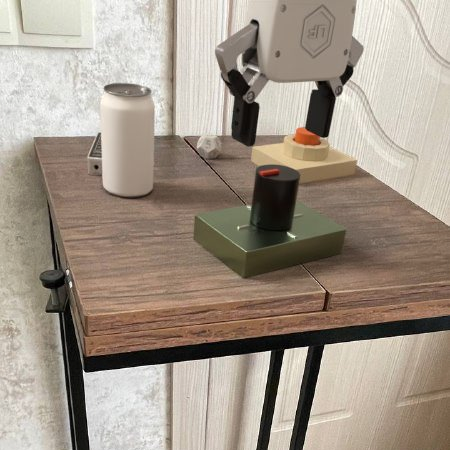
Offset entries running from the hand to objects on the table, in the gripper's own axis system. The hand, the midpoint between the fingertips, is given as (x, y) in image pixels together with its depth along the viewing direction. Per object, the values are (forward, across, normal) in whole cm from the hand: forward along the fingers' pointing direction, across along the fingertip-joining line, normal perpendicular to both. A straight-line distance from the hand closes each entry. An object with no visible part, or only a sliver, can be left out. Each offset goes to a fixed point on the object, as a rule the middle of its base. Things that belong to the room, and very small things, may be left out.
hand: (280, 137), depth 64 cm
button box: (+12, +21, +19) cm, 31 cm away
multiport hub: (+12, -5, +31) cm, 33 cm away
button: (+8, +21, +19) cm, 30 cm away
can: (+12, -7, +21) cm, 25 cm away
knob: (+9, 0, 0) cm, 9 cm away
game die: (+12, +10, +28) cm, 32 cm away
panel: (+12, 0, 0) cm, 12 cm away
